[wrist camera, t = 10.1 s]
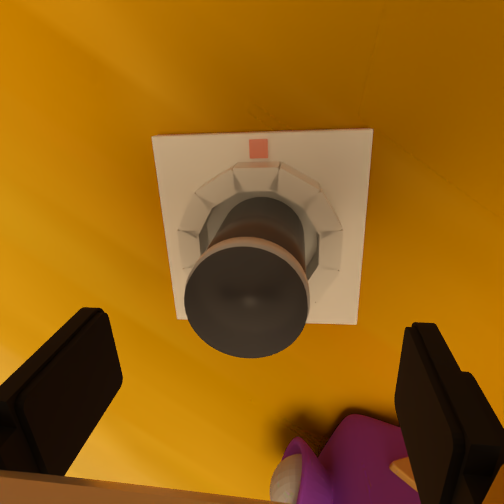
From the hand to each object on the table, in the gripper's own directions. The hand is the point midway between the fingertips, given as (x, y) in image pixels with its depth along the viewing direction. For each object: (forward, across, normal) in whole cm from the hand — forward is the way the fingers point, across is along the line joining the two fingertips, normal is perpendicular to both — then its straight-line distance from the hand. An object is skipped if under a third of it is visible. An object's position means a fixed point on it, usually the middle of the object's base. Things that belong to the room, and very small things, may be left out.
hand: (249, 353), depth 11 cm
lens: (+11, +1, 0) cm, 11 cm away
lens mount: (+12, +1, +1) cm, 12 cm away
